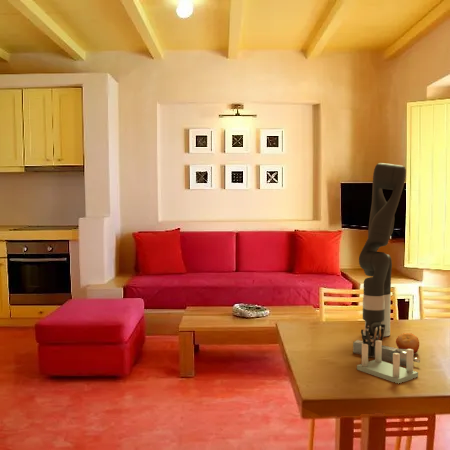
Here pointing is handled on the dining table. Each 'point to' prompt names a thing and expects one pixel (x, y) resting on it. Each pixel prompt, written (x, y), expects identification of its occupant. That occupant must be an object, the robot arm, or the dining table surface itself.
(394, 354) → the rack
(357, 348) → the ball-topped lever
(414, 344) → the fruit
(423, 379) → the dining table surface
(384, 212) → the robot arm
